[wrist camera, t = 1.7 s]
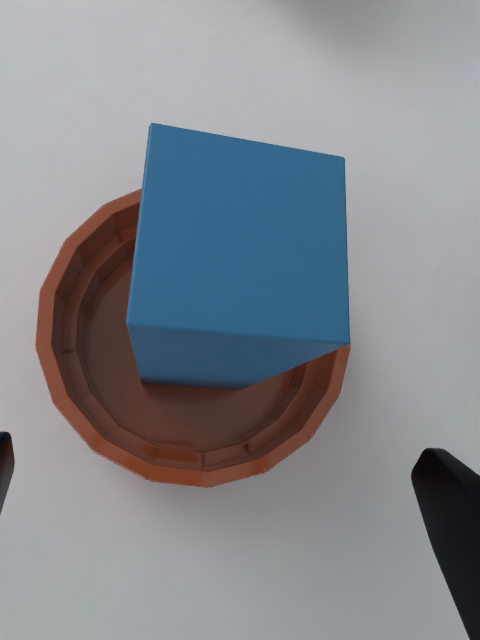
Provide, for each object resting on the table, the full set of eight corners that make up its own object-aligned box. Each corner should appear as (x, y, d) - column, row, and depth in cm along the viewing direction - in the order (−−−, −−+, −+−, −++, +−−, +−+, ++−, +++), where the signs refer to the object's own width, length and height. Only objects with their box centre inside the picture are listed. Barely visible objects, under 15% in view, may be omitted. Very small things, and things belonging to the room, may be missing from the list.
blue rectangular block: (242, 389, 21) (351, 345, 9) (140, 383, 20) (125, 324, 8) (245, 296, 22) (345, 156, 11) (151, 286, 21) (149, 120, 10)
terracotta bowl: (344, 438, 21) (386, 440, 18) (75, 507, 18) (55, 528, 14) (285, 211, 24) (310, 171, 20) (42, 236, 21) (17, 193, 17)
